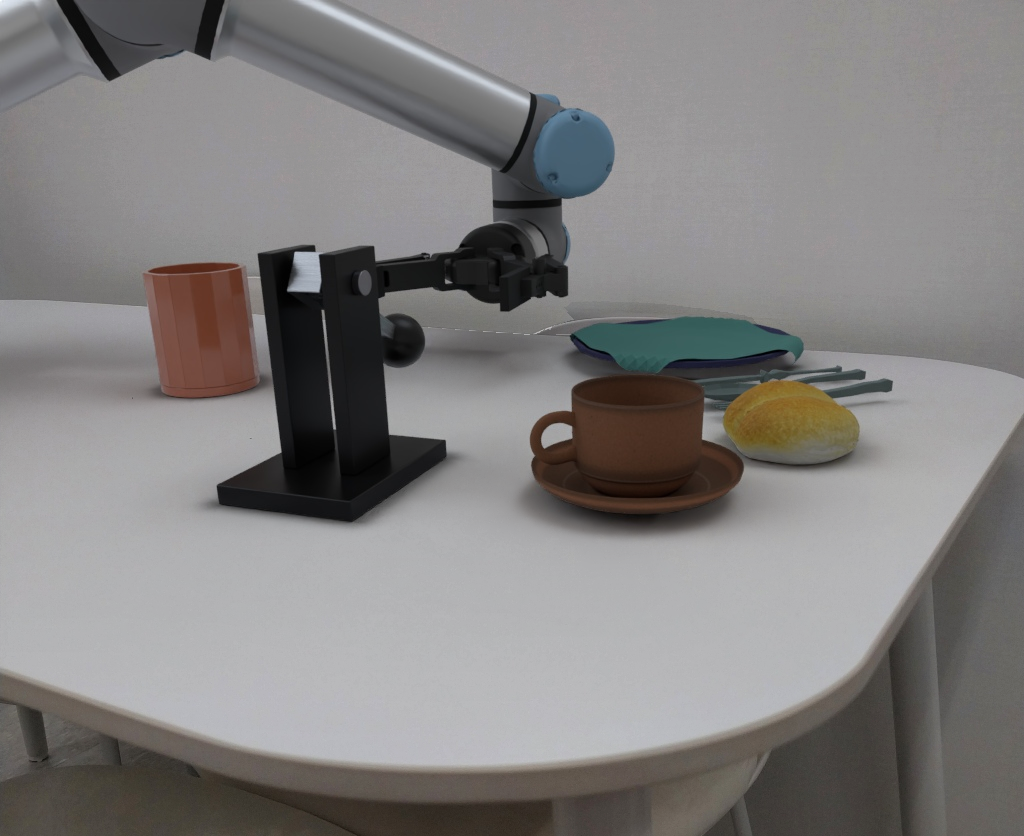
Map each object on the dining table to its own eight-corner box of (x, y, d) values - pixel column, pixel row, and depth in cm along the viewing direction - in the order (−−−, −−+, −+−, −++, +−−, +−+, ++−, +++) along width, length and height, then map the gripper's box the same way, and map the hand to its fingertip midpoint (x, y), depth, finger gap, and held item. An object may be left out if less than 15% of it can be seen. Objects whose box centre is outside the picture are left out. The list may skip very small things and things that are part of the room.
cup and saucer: (621, 551, 48) (622, 432, 46) (492, 487, 58) (488, 386, 55) (787, 499, 54) (796, 392, 52) (646, 449, 64) (648, 356, 61)
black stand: (329, 445, 67) (308, 237, 62) (447, 457, 63) (435, 239, 58) (218, 504, 56) (182, 260, 51) (352, 522, 53) (327, 264, 48)
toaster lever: (382, 373, 67) (391, 323, 67) (428, 376, 65) (438, 325, 66) (273, 301, 55) (286, 241, 55) (328, 303, 53) (340, 241, 54)
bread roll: (747, 471, 59) (751, 407, 57) (712, 430, 67) (714, 373, 66) (881, 465, 59) (888, 401, 58) (829, 424, 68) (834, 368, 66)
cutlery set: (728, 331, 100) (730, 309, 99) (918, 400, 73) (922, 370, 72) (545, 347, 95) (544, 324, 94) (675, 427, 68) (676, 395, 67)
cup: (140, 394, 82) (119, 273, 78) (203, 372, 89) (187, 261, 85) (219, 400, 79) (202, 275, 75) (278, 378, 86) (264, 262, 82)
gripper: (623, 300, 96) (573, 343, 77) (390, 296, 102) (292, 334, 84) (624, 221, 93) (573, 246, 74) (385, 222, 100) (282, 245, 81)
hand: (424, 293), depth 79 cm, fingers open, 13 cm apart
